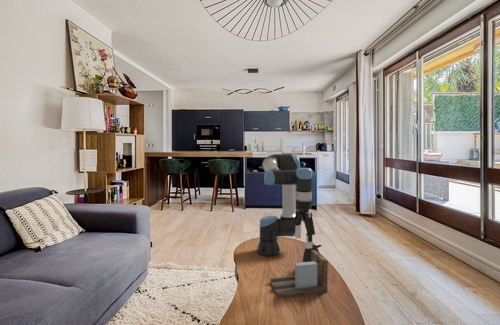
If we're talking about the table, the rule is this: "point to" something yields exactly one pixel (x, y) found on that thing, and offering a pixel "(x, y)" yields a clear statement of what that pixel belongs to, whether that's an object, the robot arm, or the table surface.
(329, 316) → the table surface
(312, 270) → the pale grey rectangular block
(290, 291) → the track sill
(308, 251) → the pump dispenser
